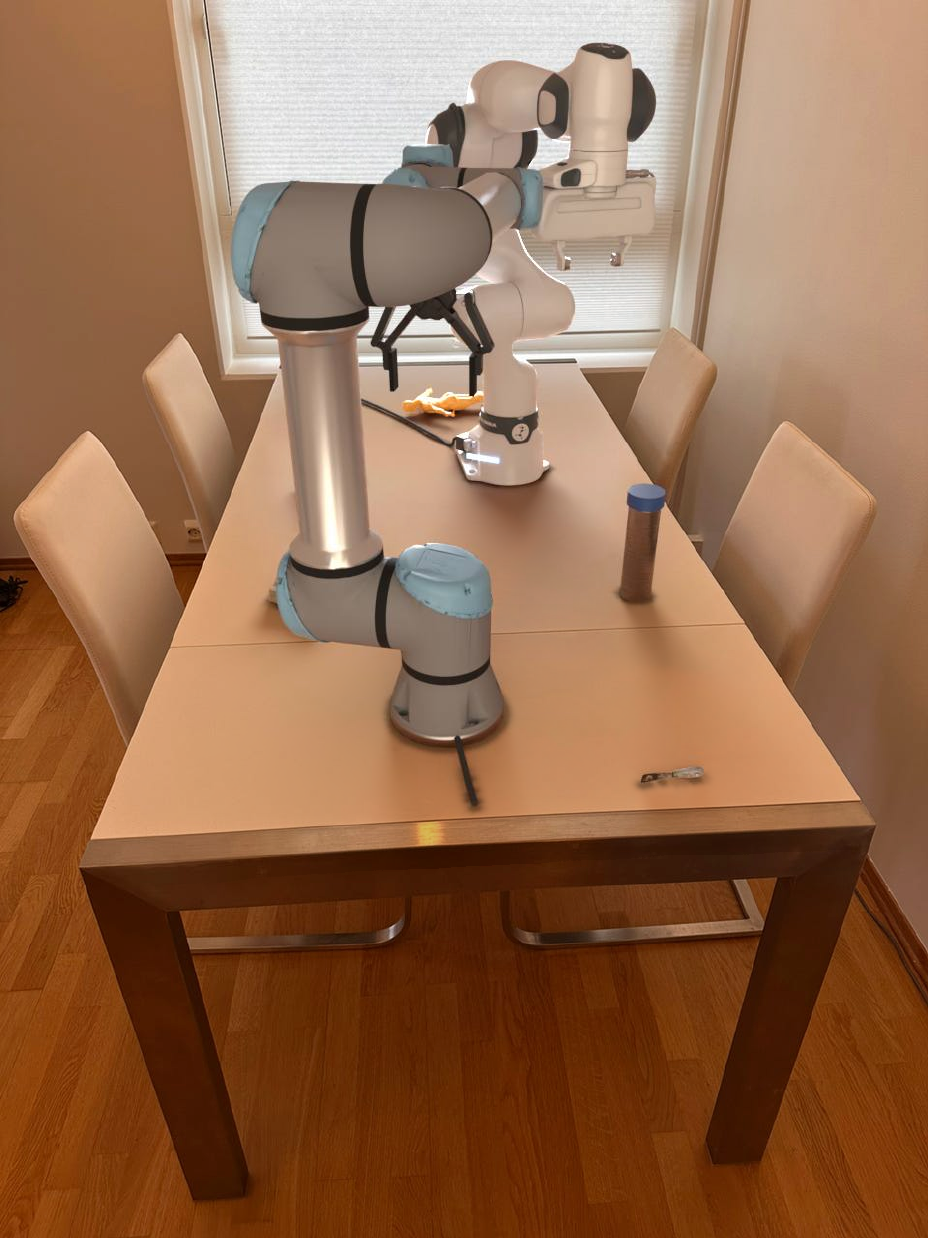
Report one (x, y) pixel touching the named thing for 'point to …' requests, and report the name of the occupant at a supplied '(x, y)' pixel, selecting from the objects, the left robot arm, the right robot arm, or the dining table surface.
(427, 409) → the human figure
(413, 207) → the left robot arm
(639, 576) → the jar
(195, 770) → the dining table surface
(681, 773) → the putty knife
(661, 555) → the dining table surface
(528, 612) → the dining table surface
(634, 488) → the lid
